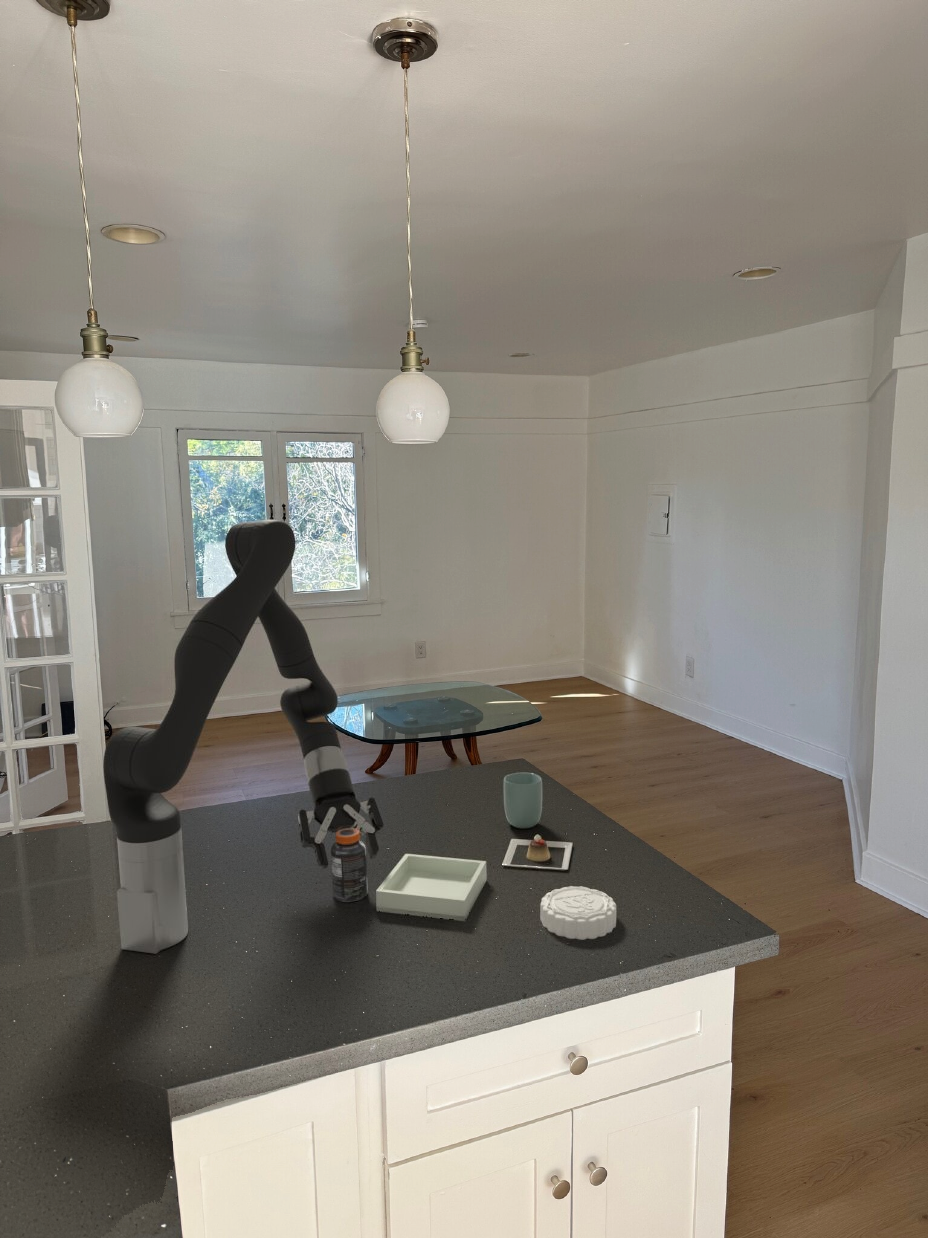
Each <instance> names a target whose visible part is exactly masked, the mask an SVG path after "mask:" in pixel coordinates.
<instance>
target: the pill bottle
mask: <svg viewBox="0 0 928 1238" xmlns="http://www.w3.org/2000/svg"><path fill="white" fill-rule="evenodd" d="M360 839H361V833H360V832H359V830H357V829H354V828H346V829H341V830H339V831H337V832H335V841H336V842H335V843H333V844H332V846H331V849H330V859H331V861H330V862H331V880H332V881H331V882H332V896H333V898H334V899H335V900H337V901H340V902H343V903H344V902H346V903H349V902H357V901H360V900H362V899H363V898H365V897H366V896H367V894H368V891H369V890H368V889H369V888H368V869H367V868H368V867H367V866H368V865H367V864H368V863H367V862H368V861H367V848H366V847H367V845H366V843H364V842H363V841H362V840H360Z"/></svg>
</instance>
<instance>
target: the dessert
mask: <svg viewBox="0 0 928 1238" xmlns="http://www.w3.org/2000/svg"><path fill="white" fill-rule="evenodd" d="M518 846H528V849H527V854H526V858H527V859H528V860H530V861H533V862H545V861H548V860H549V859H550V858H551V857H552V856H551V853H550V850H549V848H562V849H563V848H564V854H563V860H562V864H561V865H562V866H561V867H549V866H536V865H535V866H534V865H523V864H521V865H519V864H511V863H512V860H513V857H514V856H515V852H516V850H517V849H516V848H517V847H518ZM506 850H507V851H506V853H505V856H504V859H503V861H502V866H505V867H512V868H524V869H525V868H527V869H540V870H541V869H542V870H553V871H566V870H567V871H568V870H569V865H570V860H571V855H572V850H573V842H568V841H553V840H551V841H550V840H544V839H543V838H542V836H541V835H539V834H536V835H535V836H534V837H533V839H519V838H511V839H510V842H509V845H508V847H507V849H506Z"/></svg>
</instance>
